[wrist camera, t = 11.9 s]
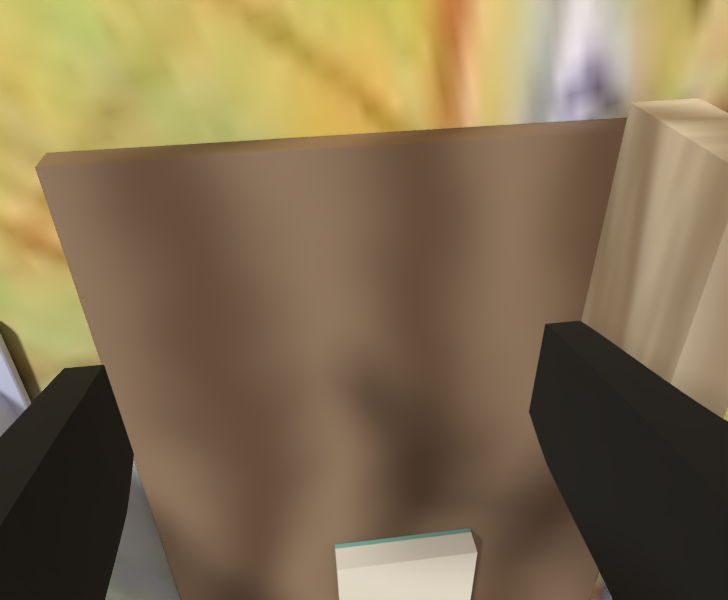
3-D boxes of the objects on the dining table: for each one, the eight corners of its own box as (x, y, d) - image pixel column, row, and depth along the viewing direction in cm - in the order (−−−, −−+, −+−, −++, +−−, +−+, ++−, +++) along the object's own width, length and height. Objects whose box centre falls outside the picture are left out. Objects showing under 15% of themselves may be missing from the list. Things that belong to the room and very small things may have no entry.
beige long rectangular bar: (564, 395, 23) (627, 505, 19) (630, 102, 17) (744, 173, 13) (615, 389, 24) (688, 498, 19) (698, 98, 17) (832, 167, 13)
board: (209, 660, 33) (208, 680, 32) (46, 153, 17) (34, 167, 16) (572, 609, 35) (579, 627, 34) (733, 111, 19) (755, 122, 18)
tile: (334, 544, 27) (341, 639, 31) (337, 570, 26) (344, 664, 30) (469, 527, 27) (457, 623, 32) (477, 552, 26) (463, 647, 31)
